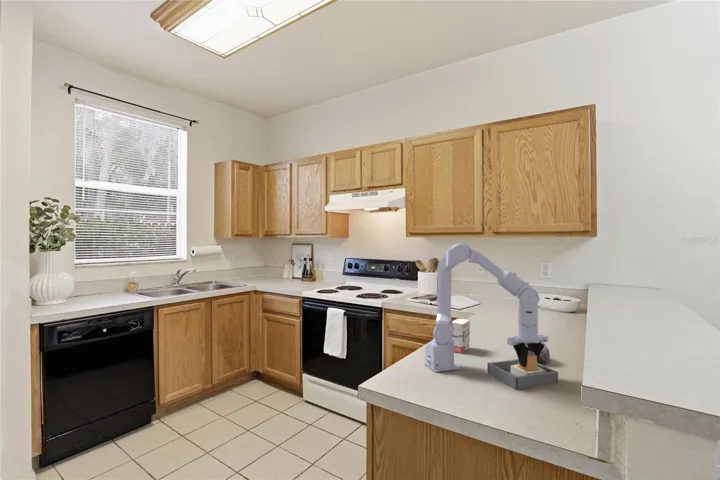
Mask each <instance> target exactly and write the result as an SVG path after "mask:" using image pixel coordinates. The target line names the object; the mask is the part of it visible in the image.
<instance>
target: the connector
mask: <svg viewBox="0 0 720 480" xmlns="http://www.w3.org/2000/svg"><path fill="white" fill-rule="evenodd" d="M519 368H520V369H522V370H524V371H526V372H529V371H537V356H536V355H535V353H534V352H531V351H528V355H527V365H526V367H523V366H520V363H519Z"/></svg>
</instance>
